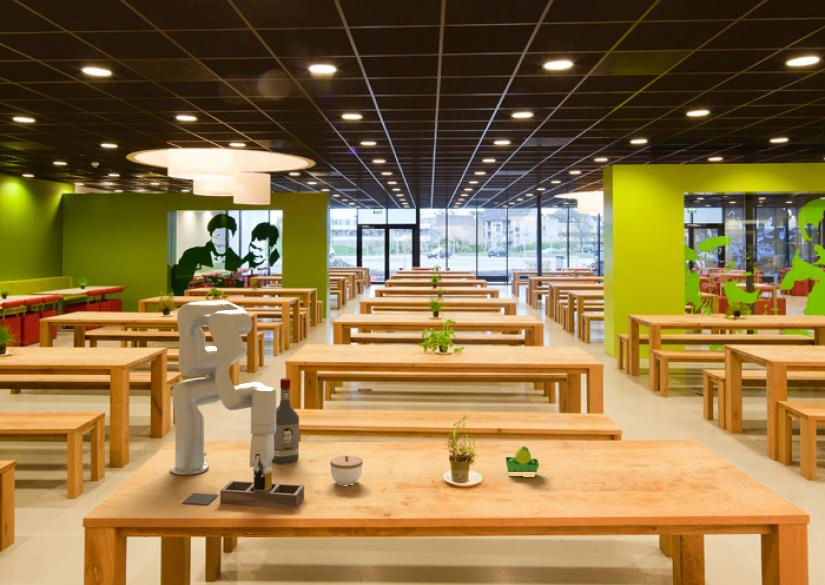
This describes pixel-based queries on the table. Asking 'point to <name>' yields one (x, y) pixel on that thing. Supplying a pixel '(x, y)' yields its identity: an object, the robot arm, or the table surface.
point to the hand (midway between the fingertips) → (262, 485)
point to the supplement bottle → (266, 479)
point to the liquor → (286, 428)
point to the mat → (200, 499)
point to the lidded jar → (346, 469)
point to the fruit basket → (522, 461)
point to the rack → (262, 495)
